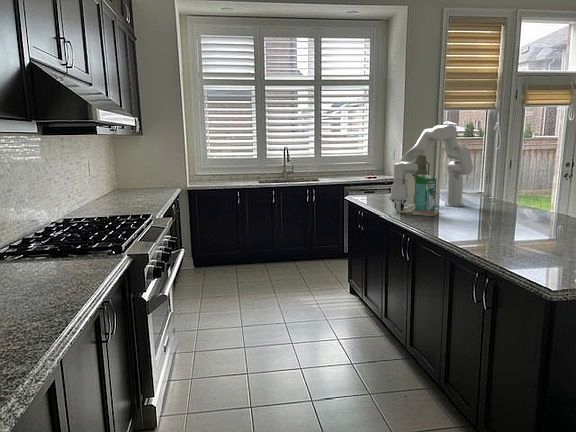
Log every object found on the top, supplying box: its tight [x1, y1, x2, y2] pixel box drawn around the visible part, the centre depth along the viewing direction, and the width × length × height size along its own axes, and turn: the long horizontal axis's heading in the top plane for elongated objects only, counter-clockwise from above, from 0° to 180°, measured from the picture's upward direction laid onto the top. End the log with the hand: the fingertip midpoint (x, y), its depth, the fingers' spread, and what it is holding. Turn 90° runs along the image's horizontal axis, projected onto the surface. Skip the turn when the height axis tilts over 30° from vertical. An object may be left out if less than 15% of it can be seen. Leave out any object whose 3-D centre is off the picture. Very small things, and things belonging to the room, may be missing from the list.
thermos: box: [411, 154, 430, 204], centre depth 319 cm, size 9×12×35 cm
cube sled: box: [403, 203, 415, 210], centre depth 298 cm, size 8×15×8 cm, turn 64°
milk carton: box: [414, 173, 437, 211], centre depth 281 cm, size 9×9×25 cm
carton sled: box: [395, 199, 439, 217], centre depth 285 cm, size 14×25×8 cm, turn 64°
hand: (399, 209), depth 290 cm, fingers closed on carton sled, 3 cm apart
